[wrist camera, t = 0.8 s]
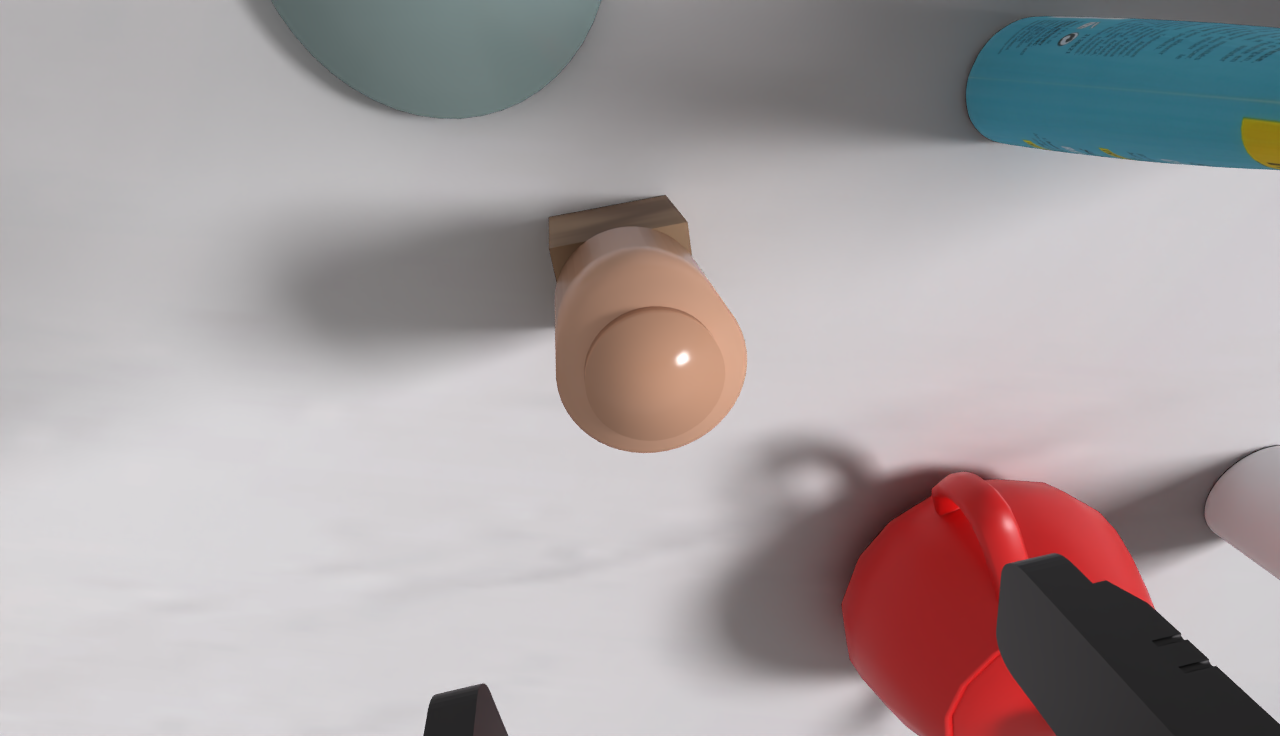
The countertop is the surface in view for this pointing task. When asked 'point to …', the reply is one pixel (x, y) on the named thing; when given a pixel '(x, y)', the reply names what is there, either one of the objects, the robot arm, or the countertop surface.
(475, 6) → the dish
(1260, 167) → the tube
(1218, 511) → the white bottle
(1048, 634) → the robot arm
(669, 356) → the dome-topped cylinder
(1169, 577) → the countertop surface
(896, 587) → the teapot
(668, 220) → the block
